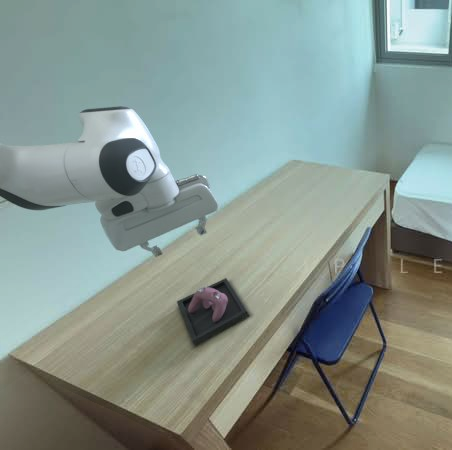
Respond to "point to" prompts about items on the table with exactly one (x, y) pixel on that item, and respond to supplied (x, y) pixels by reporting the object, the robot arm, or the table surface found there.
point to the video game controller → (209, 302)
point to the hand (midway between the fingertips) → (181, 243)
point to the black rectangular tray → (202, 318)
